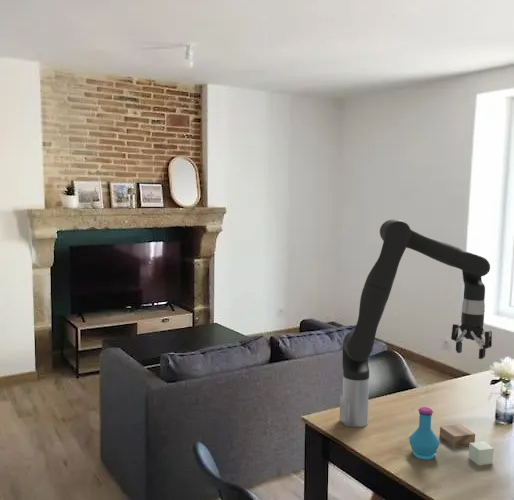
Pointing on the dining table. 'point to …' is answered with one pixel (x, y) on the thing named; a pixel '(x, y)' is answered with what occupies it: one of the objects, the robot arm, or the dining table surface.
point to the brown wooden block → (457, 435)
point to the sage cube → (481, 453)
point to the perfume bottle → (424, 436)
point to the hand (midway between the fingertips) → (470, 355)
